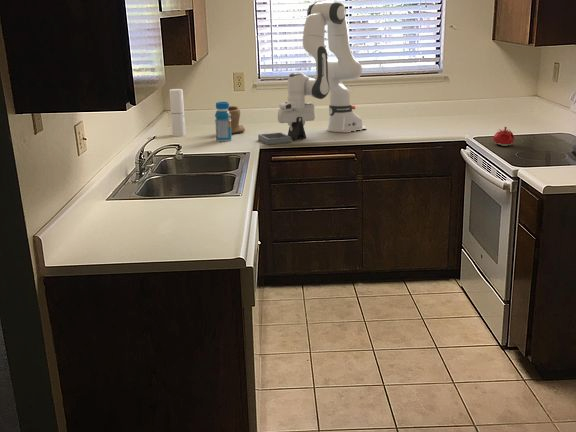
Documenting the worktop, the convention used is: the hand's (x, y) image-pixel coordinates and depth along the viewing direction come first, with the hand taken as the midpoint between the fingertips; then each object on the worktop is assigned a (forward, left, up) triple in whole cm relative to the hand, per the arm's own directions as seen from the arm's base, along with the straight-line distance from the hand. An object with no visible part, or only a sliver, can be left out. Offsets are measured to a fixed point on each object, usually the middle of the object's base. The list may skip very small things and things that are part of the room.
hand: (296, 130), depth 339 cm
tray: (+13, +1, -5) cm, 14 cm away
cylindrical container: (+54, -39, -5) cm, 67 cm away
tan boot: (+25, -31, -5) cm, 40 cm away
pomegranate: (-85, +62, -5) cm, 105 cm away
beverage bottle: (+36, -14, -5) cm, 39 cm away
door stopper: (0, 0, -5) cm, 5 cm away
